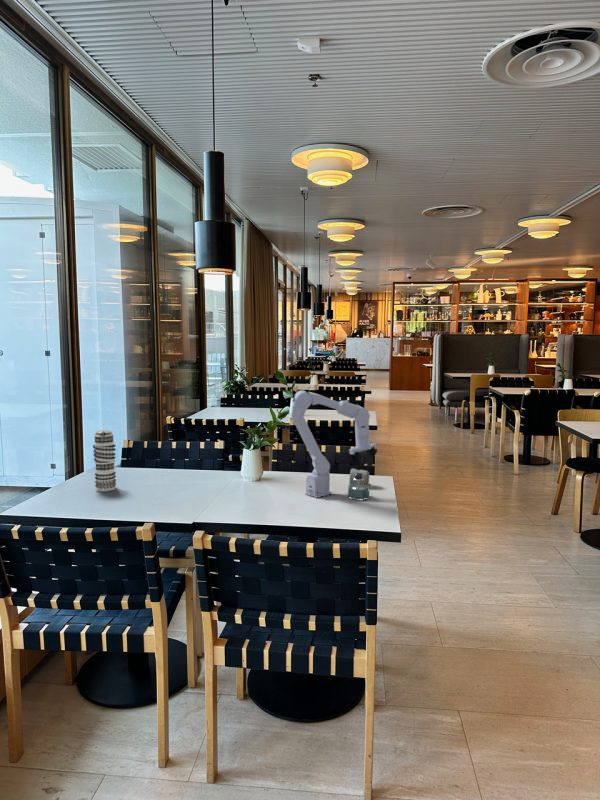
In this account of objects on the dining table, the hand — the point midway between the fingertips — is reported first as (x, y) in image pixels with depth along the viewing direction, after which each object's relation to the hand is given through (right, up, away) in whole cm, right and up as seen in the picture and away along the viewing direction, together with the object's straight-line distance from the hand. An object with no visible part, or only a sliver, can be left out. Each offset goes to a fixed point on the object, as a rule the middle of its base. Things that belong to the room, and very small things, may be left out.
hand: (364, 467), depth 232 cm
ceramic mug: (-1, -10, +13) cm, 16 cm away
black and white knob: (-3, -8, -6) cm, 10 cm away
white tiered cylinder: (-111, -10, +7) cm, 111 cm away
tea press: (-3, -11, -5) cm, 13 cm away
